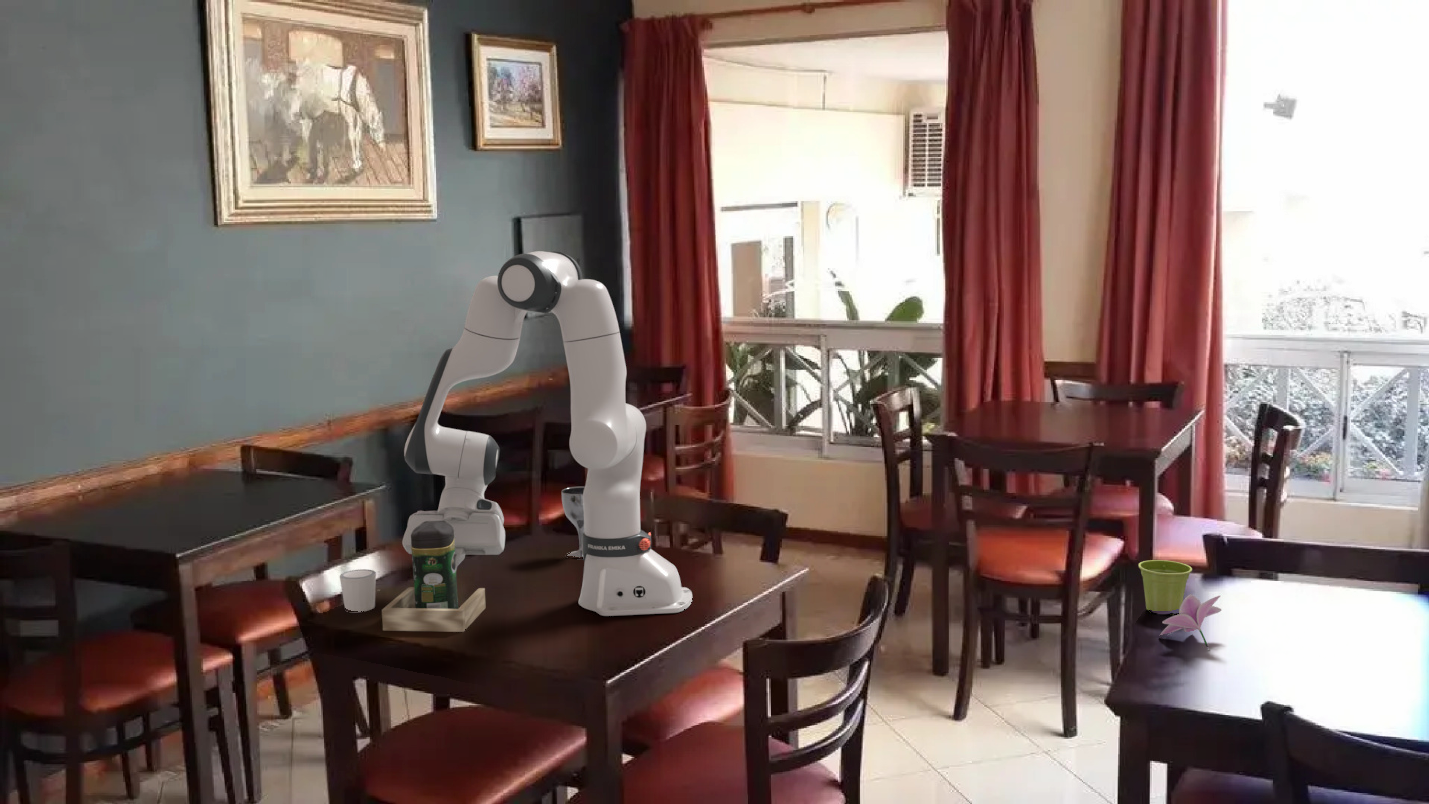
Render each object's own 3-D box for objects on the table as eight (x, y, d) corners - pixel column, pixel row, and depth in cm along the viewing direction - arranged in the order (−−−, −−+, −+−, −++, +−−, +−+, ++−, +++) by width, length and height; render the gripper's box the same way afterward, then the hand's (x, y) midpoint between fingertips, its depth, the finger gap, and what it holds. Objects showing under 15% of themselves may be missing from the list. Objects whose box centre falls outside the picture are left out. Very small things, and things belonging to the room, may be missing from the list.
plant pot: (1145, 600, 237) (1146, 557, 235) (1196, 608, 231) (1197, 564, 230) (1130, 613, 229) (1132, 568, 228) (1182, 622, 224) (1184, 576, 222)
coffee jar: (420, 610, 239) (414, 518, 236) (461, 609, 240) (456, 516, 237) (411, 626, 230) (406, 530, 227) (454, 625, 230) (449, 528, 227)
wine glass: (564, 551, 281) (561, 487, 279) (599, 549, 282) (596, 485, 279) (563, 560, 273) (561, 494, 271) (599, 558, 274) (597, 493, 272)
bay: (485, 607, 240) (484, 588, 239) (463, 631, 226) (462, 610, 226) (409, 606, 242) (408, 587, 241) (383, 630, 228) (381, 609, 227)
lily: (1232, 643, 215) (1210, 591, 218) (1247, 639, 204) (1224, 584, 207) (1165, 663, 216) (1144, 611, 219) (1176, 660, 205) (1154, 605, 208)
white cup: (383, 602, 245) (381, 568, 244) (370, 613, 238) (368, 578, 237) (350, 602, 246) (347, 568, 244) (336, 613, 239) (333, 578, 238)
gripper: (406, 502, 248) (391, 563, 240) (505, 503, 246) (493, 564, 238) (415, 519, 253) (401, 578, 245) (511, 519, 251) (501, 579, 243)
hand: (447, 571), depth 241 cm, fingers closed
